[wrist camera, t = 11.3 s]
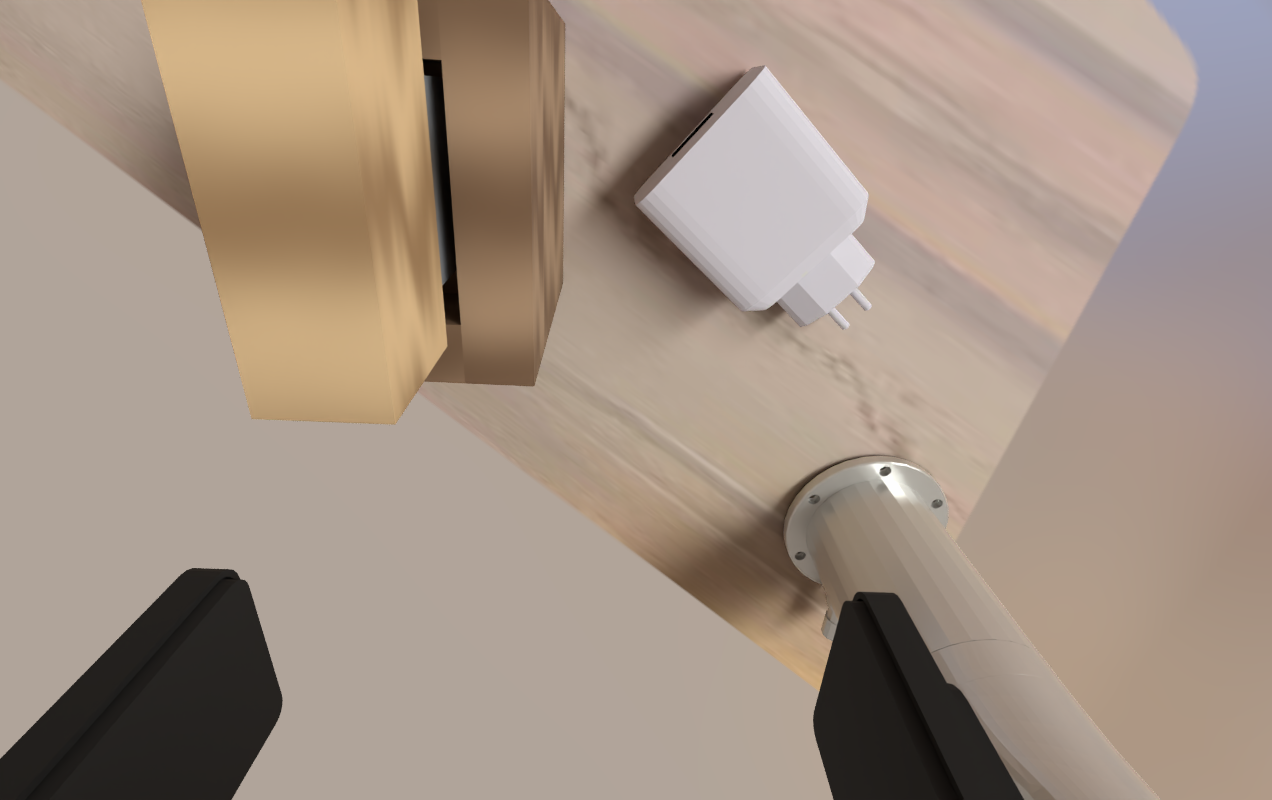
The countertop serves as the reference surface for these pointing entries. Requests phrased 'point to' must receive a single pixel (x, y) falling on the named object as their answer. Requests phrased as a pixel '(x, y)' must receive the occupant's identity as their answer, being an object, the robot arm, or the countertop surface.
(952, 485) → the countertop surface
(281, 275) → the tan rectangular block
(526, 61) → the wooden crate
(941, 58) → the countertop surface
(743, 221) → the charger
